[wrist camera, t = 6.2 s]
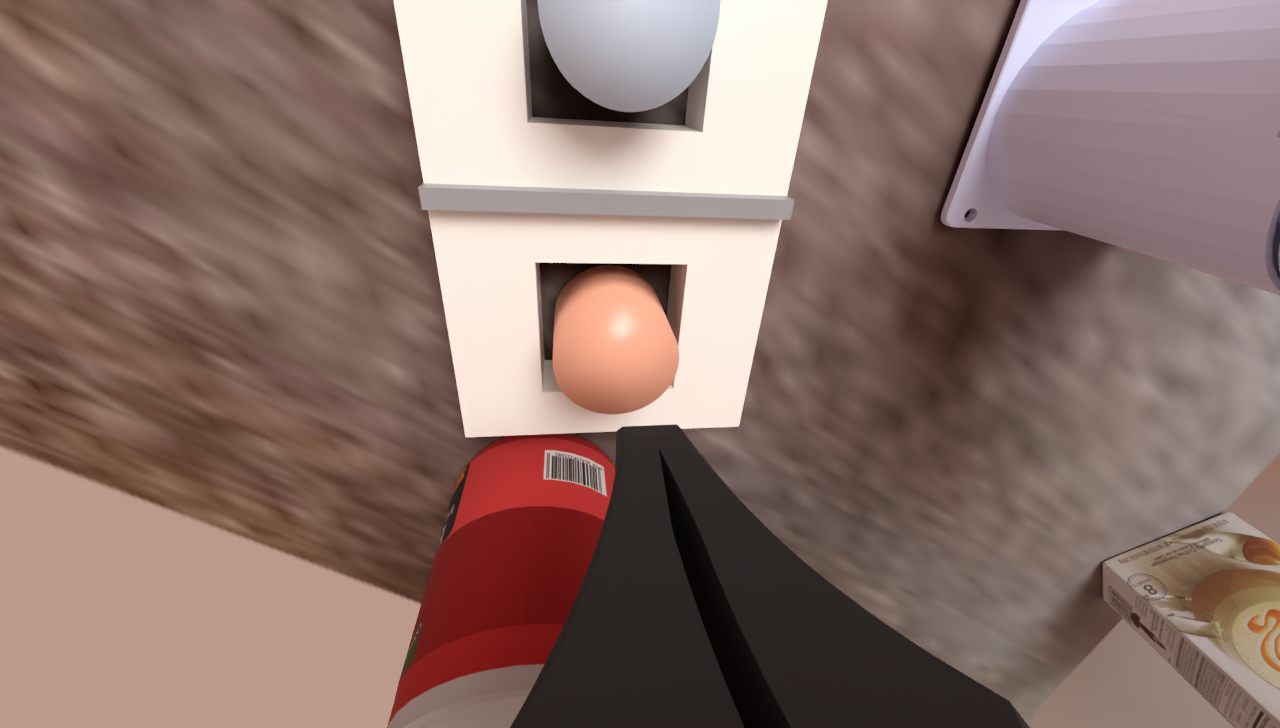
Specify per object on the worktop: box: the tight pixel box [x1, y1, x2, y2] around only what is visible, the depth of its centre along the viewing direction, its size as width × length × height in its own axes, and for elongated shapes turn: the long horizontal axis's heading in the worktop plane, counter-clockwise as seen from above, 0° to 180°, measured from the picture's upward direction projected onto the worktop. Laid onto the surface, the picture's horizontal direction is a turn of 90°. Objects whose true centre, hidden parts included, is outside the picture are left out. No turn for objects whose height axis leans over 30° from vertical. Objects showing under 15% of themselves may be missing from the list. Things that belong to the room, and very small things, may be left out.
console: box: [393, 0, 828, 437], centre depth 15 cm, size 11×18×3 cm, turn 177°
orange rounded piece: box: [552, 265, 679, 414], centre depth 16 cm, size 4×4×4 cm
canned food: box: [387, 433, 615, 728], centre depth 19 cm, size 8×8×11 cm
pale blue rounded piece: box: [537, 0, 720, 112], centre depth 12 cm, size 4×4×4 cm
